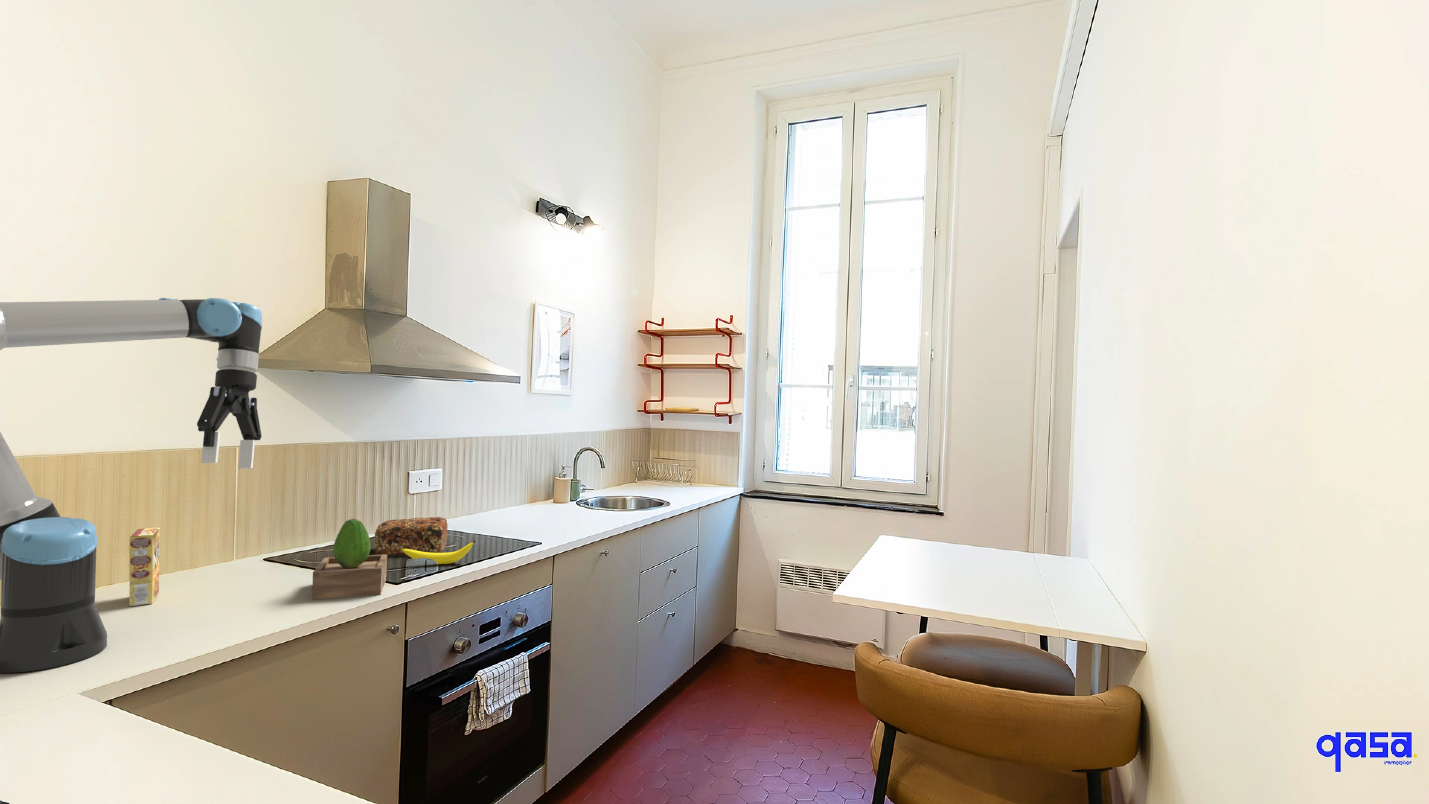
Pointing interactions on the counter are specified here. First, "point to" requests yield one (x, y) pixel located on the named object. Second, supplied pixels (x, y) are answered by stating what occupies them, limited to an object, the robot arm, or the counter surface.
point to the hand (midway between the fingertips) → (228, 466)
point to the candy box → (144, 566)
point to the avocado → (352, 544)
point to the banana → (440, 555)
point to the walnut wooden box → (349, 578)
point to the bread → (411, 535)
